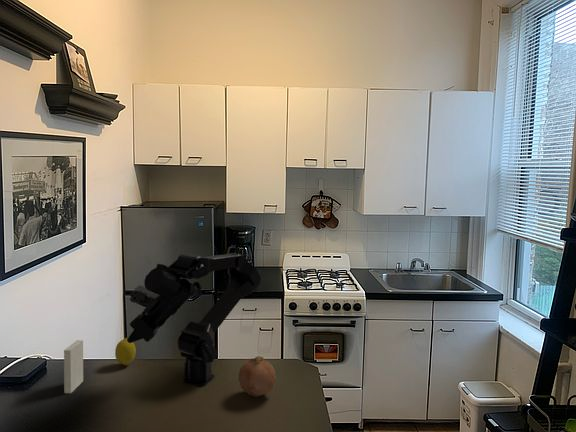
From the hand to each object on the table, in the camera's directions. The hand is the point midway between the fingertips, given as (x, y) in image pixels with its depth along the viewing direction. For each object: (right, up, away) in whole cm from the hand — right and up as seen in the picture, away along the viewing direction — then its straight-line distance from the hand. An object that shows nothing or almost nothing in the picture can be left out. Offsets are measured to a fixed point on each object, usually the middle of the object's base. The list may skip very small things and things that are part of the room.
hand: (129, 340), depth 116 cm
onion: (+33, -14, -1) cm, 35 cm away
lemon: (-6, -11, +15) cm, 20 cm away
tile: (-15, -12, +1) cm, 19 cm away
